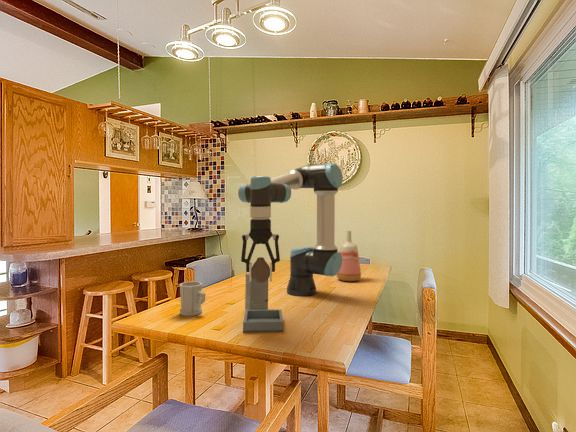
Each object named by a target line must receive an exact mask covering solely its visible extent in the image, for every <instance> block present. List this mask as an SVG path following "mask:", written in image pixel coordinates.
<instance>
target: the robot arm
mask: <svg viewBox="0 0 576 432" xmlns="http://www.w3.org/2000/svg"><path fill="white" fill-rule="evenodd" d="M343 181H344V177H343V173H342V170H341V168H340V166H339V165H338V164H336V163H331V162H327V163H318V164H317V163H316V164H315V163H314V164H307V165H303V166H300V167H298V168H295V169H291V170H289V171H288V172H287V173H285V174H282V175H277V176H275V177H270V176H267V175H266V176H265V175H263V176H262V175H255V176H252V177H251V178H250V183H249V184H248V183H246V184H242V185H241V186H239V188H238V191H237V195H238V199H239V201H241V202H243V203H247V204H250V208H249V210H250V211H249V213H250V214H249V215H250V217H249V218H251V219H250V222H249V223H250V225H249V226H250V231H249V233H246V234H243V235H242V236H241V239H242V250H241V257H240V258H241V259H240V261H241V262H242V263H244V264H245V268H246V269H245V270H246V271H245V272H246V273H249V282H251V281H252V275H251V269H252V266H253V263H252V262H251V259H252V256H253V254H254V251H255V248H256V245H259V244H261V245H264V246H265V247H266V250H267V253H268V256H269V258H270V259H269V260H271V262H269V268H270V276H269V282H273V273H275V272H276V264H277V263H279V262H280V260H281V257H280V248H279V238H280V235H279V234H278V233H277V234H275V233H273V232H272V220H271V219H270V218H271V217H272V211H271V210H272V206H271V205H272V203H277V204H278V203H280V204H281V203H282V204H283V203H286V202H288V201H289V200H290V199H291V197H292V190H299V189H313V193H314V194H315V195H316V245H315V246H303V247H302V246H301V247H294V248H291V251H290V255H289V258H290V265H289V266H290V267H289V270H290V275H289V279H288V284H287V286H286V293H287V294H288V295H291V296H298V297H308V296H313V295H316V294H317V286H316V283H315V280H314V275H319V276H320V275H321V276H325V277H334V276H337V274H338V272H339V271H340V269H341V266H342V255H341V253H339V250H338V247H337V245H335V232H336V231H335V228H336V227H335V226H336V225H335V222H336V220H335V217H336V216H335V215H336V214H335V213H336V212H335V211H336V209H335V201H336V200H335V199H336V198H335V195H336V194H337V193H338V191H339V188H341V187H342V185H343ZM249 238H250V239H251V240H252V244H251V248H250V250H249V253H248V256H247V258H246V252H247V243H248V240H249ZM271 238H272V240H273V241H274V247H275V257H276V258H275V257H274V254H273V252H272V248H271V246H270V243H269V240H271Z"/></svg>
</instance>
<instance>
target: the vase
mask: <svg viewBox="0 0 576 432" xmlns="http://www.w3.org/2000/svg"><path fill="white" fill-rule="evenodd" d="M251 275H252V278H253V280H254V281H255V282H258V283H263V282H266V281H267V280H268V281H269V280H270V264H268V262H267V261H266V260H265V258H264V257H262V256H261V257H259V256H258V257H257V258H256V260H255V261H254V263H252V269H251Z"/></svg>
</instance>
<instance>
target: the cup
mask: <svg viewBox="0 0 576 432" xmlns="http://www.w3.org/2000/svg"><path fill="white" fill-rule="evenodd" d="M202 287H203V283H202V282H201V281H185V282H181V283H179V295H180V309H179V315H181V316H183V317H184V316H185V317H194V316H198V315H201V313H202V312H203V307H202V305H203V304H204V303H205V302H206V293H205V291H202Z"/></svg>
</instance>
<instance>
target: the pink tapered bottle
mask: <svg viewBox="0 0 576 432" xmlns="http://www.w3.org/2000/svg"><path fill="white" fill-rule="evenodd" d="M345 240H346V241H345V242H344V243H341V244H340V246H339V250H338V252H339V253H341V255H342V266H341V269H340V271H339V272H338V274H337V275H336V277H337V279H338V280H340V281H343V282H347V281H348V282H350V283H351V282H352V281H353V282H356V281H359V280H360V279H361V277H362V272H361V264H360V257H359V255H360V254H359V250H358V246H357V244H356V243H354V242H352V230H347V231H346V239H345Z"/></svg>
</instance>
